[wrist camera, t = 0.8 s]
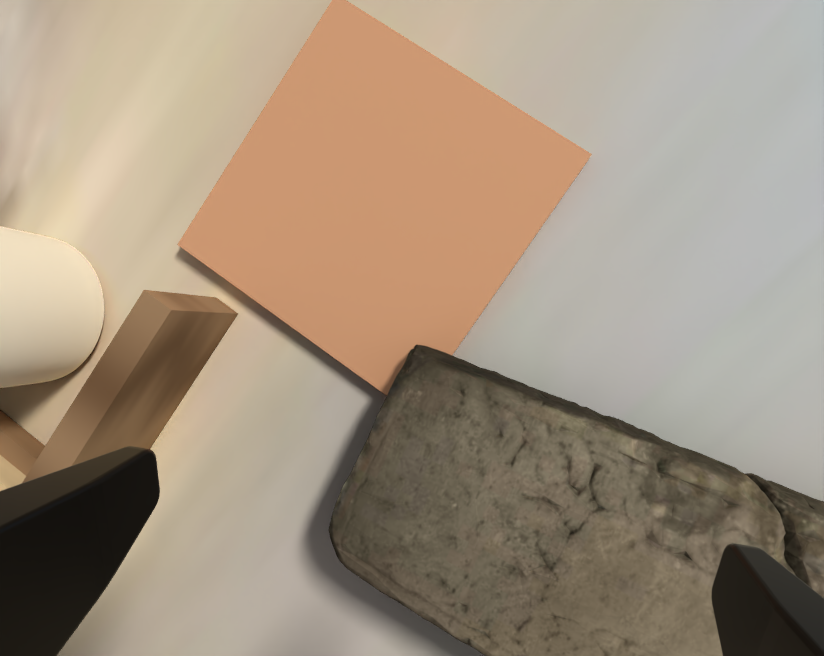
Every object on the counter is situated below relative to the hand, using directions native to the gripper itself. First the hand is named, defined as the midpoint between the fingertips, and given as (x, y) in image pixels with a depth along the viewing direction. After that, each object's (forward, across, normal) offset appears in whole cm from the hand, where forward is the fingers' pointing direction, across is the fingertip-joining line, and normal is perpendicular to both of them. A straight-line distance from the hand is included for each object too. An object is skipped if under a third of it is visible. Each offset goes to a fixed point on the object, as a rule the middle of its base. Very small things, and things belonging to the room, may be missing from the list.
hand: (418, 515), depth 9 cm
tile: (+16, +4, -2) cm, 16 cm away
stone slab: (+11, -11, +11) cm, 19 cm away
